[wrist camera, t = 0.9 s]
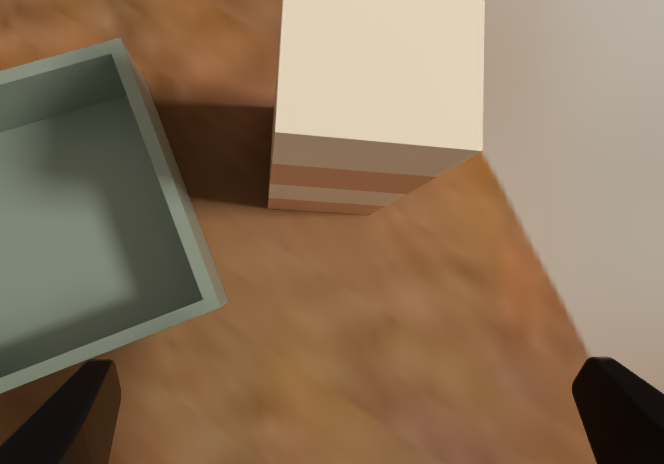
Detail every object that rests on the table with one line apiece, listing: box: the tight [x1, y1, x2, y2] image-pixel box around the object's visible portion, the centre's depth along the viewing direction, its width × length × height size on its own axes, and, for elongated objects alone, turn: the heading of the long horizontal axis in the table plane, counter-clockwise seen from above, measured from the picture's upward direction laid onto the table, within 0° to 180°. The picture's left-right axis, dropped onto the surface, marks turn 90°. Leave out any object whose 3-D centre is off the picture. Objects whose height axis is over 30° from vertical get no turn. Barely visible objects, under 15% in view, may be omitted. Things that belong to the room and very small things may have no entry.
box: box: [0, 38, 228, 393], centre depth 19 cm, size 11×11×4 cm
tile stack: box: [268, 0, 485, 215], centre depth 17 cm, size 5×5×12 cm
